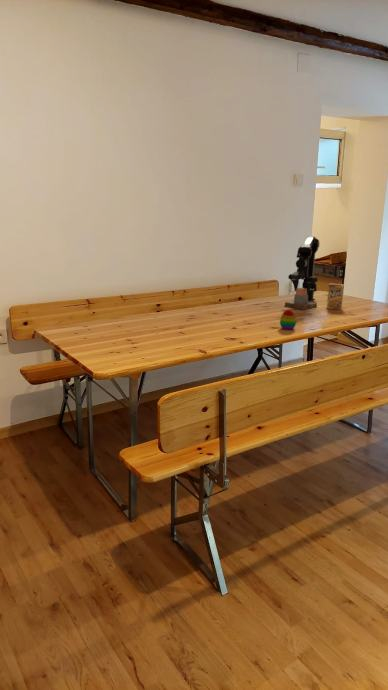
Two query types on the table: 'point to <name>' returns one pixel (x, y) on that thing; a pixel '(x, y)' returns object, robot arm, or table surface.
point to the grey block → (300, 299)
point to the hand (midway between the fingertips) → (301, 291)
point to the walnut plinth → (301, 305)
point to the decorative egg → (288, 320)
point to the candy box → (335, 296)
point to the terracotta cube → (301, 291)
